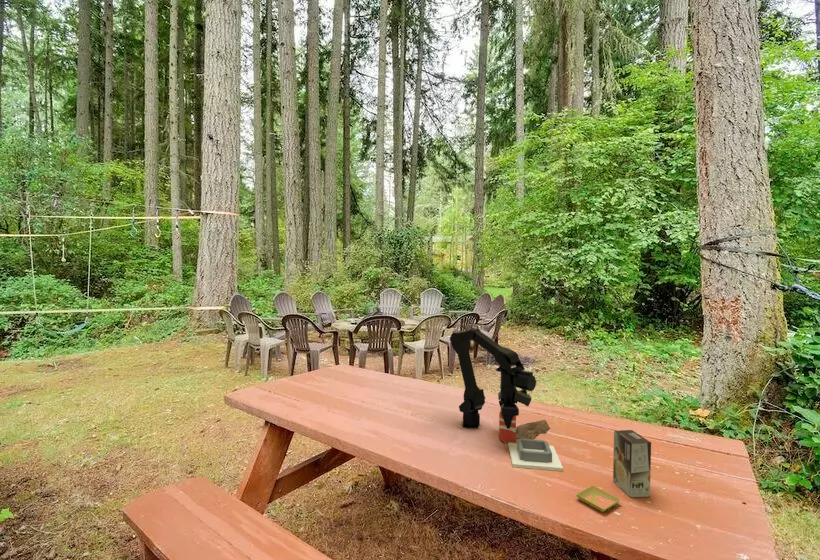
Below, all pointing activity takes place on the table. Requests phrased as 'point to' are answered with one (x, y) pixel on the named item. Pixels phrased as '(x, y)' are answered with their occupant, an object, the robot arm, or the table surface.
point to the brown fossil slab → (531, 429)
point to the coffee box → (632, 463)
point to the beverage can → (507, 430)
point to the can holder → (534, 455)
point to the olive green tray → (596, 491)
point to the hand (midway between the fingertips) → (507, 424)
